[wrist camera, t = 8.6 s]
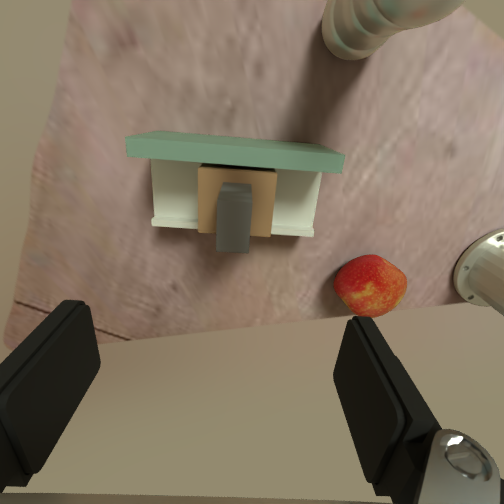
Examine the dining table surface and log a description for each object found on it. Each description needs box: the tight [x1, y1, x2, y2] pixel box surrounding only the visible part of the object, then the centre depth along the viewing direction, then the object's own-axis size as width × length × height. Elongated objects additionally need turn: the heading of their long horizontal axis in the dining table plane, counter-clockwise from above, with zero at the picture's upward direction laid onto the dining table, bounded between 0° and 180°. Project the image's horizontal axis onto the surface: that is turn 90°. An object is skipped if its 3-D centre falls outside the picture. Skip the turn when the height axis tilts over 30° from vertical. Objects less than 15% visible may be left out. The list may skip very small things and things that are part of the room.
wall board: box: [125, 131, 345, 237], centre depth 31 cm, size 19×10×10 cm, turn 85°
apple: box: [334, 255, 407, 318], centre depth 38 cm, size 8×8×8 cm
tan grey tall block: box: [198, 163, 277, 253], centre depth 27 cm, size 7×6×13 cm
